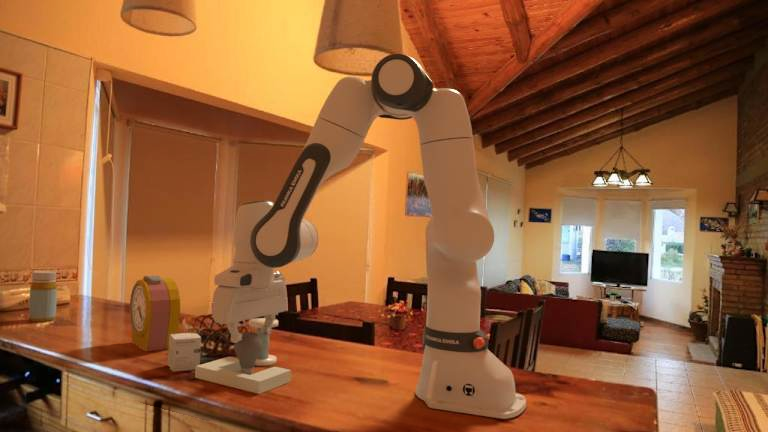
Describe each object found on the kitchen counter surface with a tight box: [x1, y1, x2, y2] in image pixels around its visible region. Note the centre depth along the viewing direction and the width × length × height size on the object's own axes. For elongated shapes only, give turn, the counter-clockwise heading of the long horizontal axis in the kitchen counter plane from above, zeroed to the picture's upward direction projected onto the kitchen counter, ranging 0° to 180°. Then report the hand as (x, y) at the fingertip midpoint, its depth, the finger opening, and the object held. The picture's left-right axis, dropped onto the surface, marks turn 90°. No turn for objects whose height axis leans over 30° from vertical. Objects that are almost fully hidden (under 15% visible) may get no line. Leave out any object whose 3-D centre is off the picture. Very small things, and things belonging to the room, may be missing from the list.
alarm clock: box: [129, 275, 181, 352], centre depth 141 cm, size 15×8×18 cm, turn 42°
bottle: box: [28, 270, 58, 323], centre depth 164 cm, size 7×7×15 cm
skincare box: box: [167, 332, 202, 373], centre depth 122 cm, size 6×6×7 cm
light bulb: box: [234, 331, 263, 375], centre depth 117 cm, size 6×6×10 cm
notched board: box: [194, 356, 292, 395], centre depth 115 cm, size 18×10×2 cm, turn 62°
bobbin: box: [248, 317, 279, 367], centre depth 130 cm, size 7×7×10 cm
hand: (251, 337), depth 117 cm, fingers open, 8 cm apart
